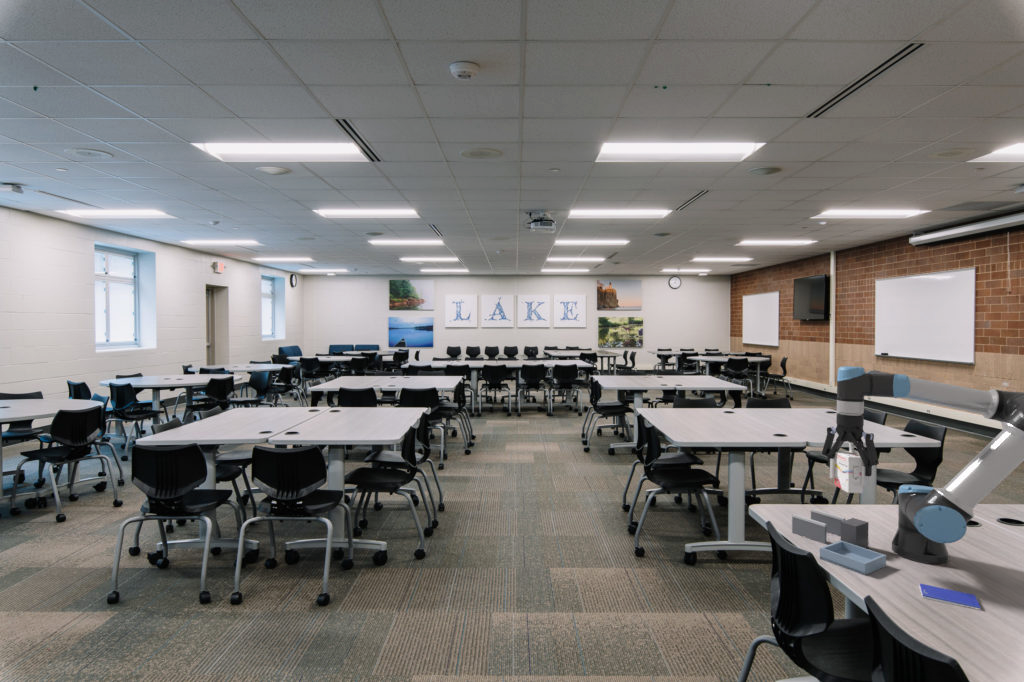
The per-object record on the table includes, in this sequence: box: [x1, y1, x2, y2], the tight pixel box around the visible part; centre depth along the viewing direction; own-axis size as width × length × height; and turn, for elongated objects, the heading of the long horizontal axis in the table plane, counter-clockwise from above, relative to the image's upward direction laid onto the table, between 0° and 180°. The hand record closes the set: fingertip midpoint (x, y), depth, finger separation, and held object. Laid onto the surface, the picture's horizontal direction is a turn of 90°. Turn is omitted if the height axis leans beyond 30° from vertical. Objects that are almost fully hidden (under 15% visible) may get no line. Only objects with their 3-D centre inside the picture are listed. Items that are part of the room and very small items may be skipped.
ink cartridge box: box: [834, 442, 864, 494], centre depth 173 cm, size 9×5×15 cm, turn 176°
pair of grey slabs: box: [791, 508, 846, 544], centre depth 195 cm, size 12×13×7 cm
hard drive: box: [918, 582, 981, 610], centre depth 149 cm, size 2×8×12 cm
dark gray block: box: [839, 517, 869, 549], centre depth 183 cm, size 5×8×9 cm, turn 120°
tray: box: [819, 540, 887, 576], centre depth 171 cm, size 14×13×4 cm
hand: (848, 481), depth 173 cm, fingers closed on ink cartridge box, 9 cm apart
